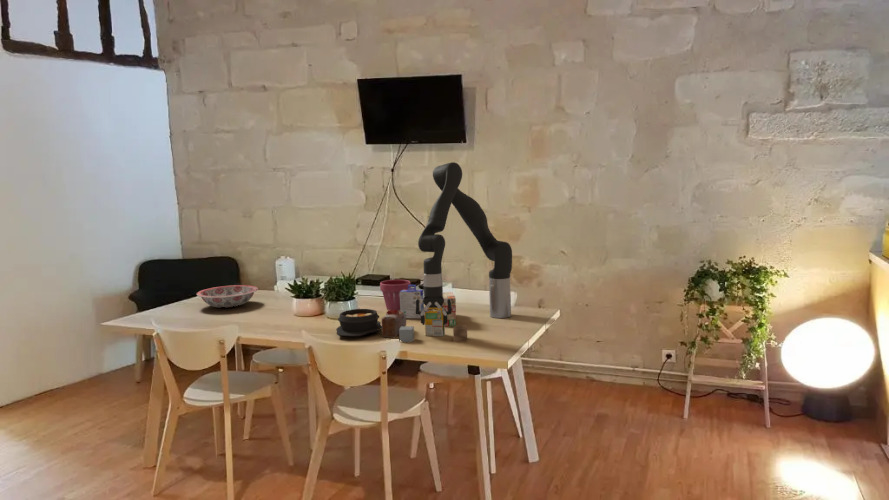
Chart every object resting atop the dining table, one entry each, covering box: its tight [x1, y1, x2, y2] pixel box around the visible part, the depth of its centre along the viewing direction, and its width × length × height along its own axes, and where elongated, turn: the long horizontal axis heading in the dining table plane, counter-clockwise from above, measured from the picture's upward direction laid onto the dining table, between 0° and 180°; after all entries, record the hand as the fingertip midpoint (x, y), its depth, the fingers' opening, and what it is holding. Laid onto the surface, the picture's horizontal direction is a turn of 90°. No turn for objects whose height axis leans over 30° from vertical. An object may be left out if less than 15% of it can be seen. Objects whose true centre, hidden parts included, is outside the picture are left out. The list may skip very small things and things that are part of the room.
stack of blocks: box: [442, 291, 457, 328], centre depth 298 cm, size 21×6×12 cm, turn 4°
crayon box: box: [424, 308, 446, 337], centre depth 274 cm, size 7×3×12 cm, turn 78°
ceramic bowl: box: [196, 284, 259, 308], centre depth 342 cm, size 29×29×8 cm
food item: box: [380, 309, 407, 338], centre depth 279 cm, size 14×8×10 cm, turn 169°
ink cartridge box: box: [399, 284, 425, 319], centre depth 305 cm, size 10×6×14 cm, turn 78°
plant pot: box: [379, 279, 412, 311], centre depth 324 cm, size 14×14×13 cm
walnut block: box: [453, 325, 468, 342], centre depth 267 cm, size 5×5×5 cm
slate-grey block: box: [398, 325, 415, 343], centre depth 268 cm, size 5×5×5 cm
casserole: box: [335, 308, 382, 337], centre depth 283 cm, size 25×19×8 cm
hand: (434, 324), depth 274 cm, fingers open, 8 cm apart
